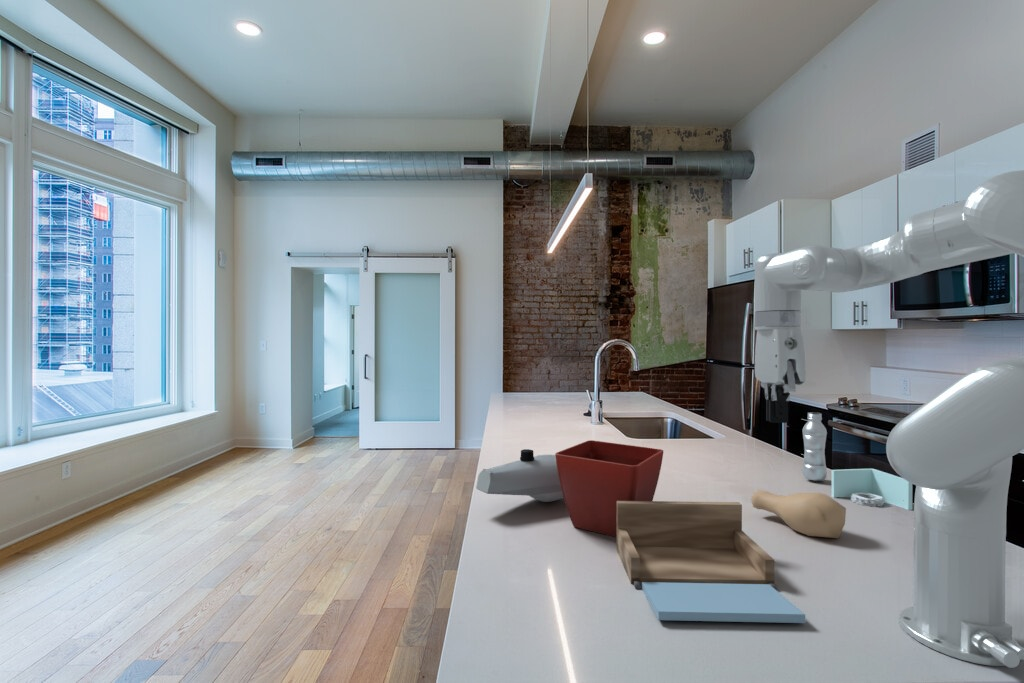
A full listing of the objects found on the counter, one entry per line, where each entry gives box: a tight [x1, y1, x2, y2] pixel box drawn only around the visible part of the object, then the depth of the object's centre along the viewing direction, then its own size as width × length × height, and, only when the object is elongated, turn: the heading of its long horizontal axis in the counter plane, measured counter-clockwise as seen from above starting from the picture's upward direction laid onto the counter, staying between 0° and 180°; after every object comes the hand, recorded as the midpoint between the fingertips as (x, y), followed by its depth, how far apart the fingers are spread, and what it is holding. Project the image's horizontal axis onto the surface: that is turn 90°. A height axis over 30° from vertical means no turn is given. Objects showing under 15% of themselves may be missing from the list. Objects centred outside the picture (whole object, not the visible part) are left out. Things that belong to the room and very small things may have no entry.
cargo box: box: [615, 500, 778, 591], centre depth 92 cm, size 16×24×10 cm
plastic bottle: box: [801, 412, 828, 482], centre depth 150 cm, size 6×7×20 cm
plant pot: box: [554, 440, 664, 538], centre depth 114 cm, size 19×19×17 cm
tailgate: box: [641, 582, 807, 624], centre depth 78 cm, size 1×21×11 cm
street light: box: [475, 448, 564, 503], centre depth 128 cm, size 30×16×14 cm, turn 127°
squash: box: [750, 489, 847, 539], centre depth 112 cm, size 11×20×9 cm, turn 30°
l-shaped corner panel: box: [830, 468, 913, 511], centre depth 129 cm, size 12×12×8 cm
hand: (777, 421), depth 92 cm, fingers closed
